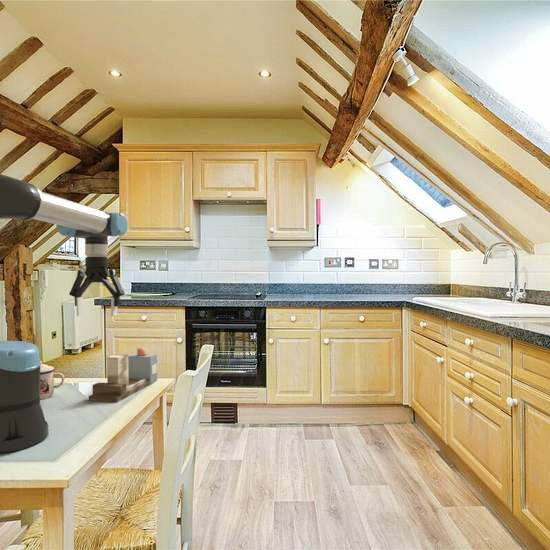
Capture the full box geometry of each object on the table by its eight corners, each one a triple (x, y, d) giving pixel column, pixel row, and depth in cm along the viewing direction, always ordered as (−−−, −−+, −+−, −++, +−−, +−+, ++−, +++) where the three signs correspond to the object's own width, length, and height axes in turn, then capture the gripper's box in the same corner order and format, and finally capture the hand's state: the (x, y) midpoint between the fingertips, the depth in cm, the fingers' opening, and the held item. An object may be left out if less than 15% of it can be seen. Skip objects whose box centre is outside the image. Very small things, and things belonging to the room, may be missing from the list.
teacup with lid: (20, 402, 126) (19, 365, 126) (25, 394, 135) (24, 360, 135) (63, 397, 131) (62, 361, 131) (65, 390, 139) (65, 356, 139)
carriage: (118, 391, 132) (118, 357, 132) (107, 390, 132) (107, 357, 132) (128, 386, 137) (128, 354, 137) (117, 385, 138) (117, 353, 138)
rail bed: (117, 402, 126) (117, 387, 126) (88, 400, 127) (88, 386, 127) (157, 380, 151) (157, 368, 151) (132, 379, 153) (132, 367, 153)
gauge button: (142, 360, 148) (142, 349, 148) (135, 359, 148) (135, 349, 148) (146, 358, 151) (146, 347, 151) (139, 358, 151) (139, 347, 151)
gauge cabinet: (151, 384, 146) (150, 356, 146) (125, 383, 148) (125, 356, 148) (157, 380, 151) (157, 354, 151) (132, 379, 153) (132, 353, 153)
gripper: (134, 256, 147) (134, 314, 146) (72, 257, 151) (72, 314, 151) (123, 255, 139) (123, 316, 139) (58, 256, 143) (58, 316, 143)
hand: (97, 315), depth 145 cm, fingers open, 13 cm apart
